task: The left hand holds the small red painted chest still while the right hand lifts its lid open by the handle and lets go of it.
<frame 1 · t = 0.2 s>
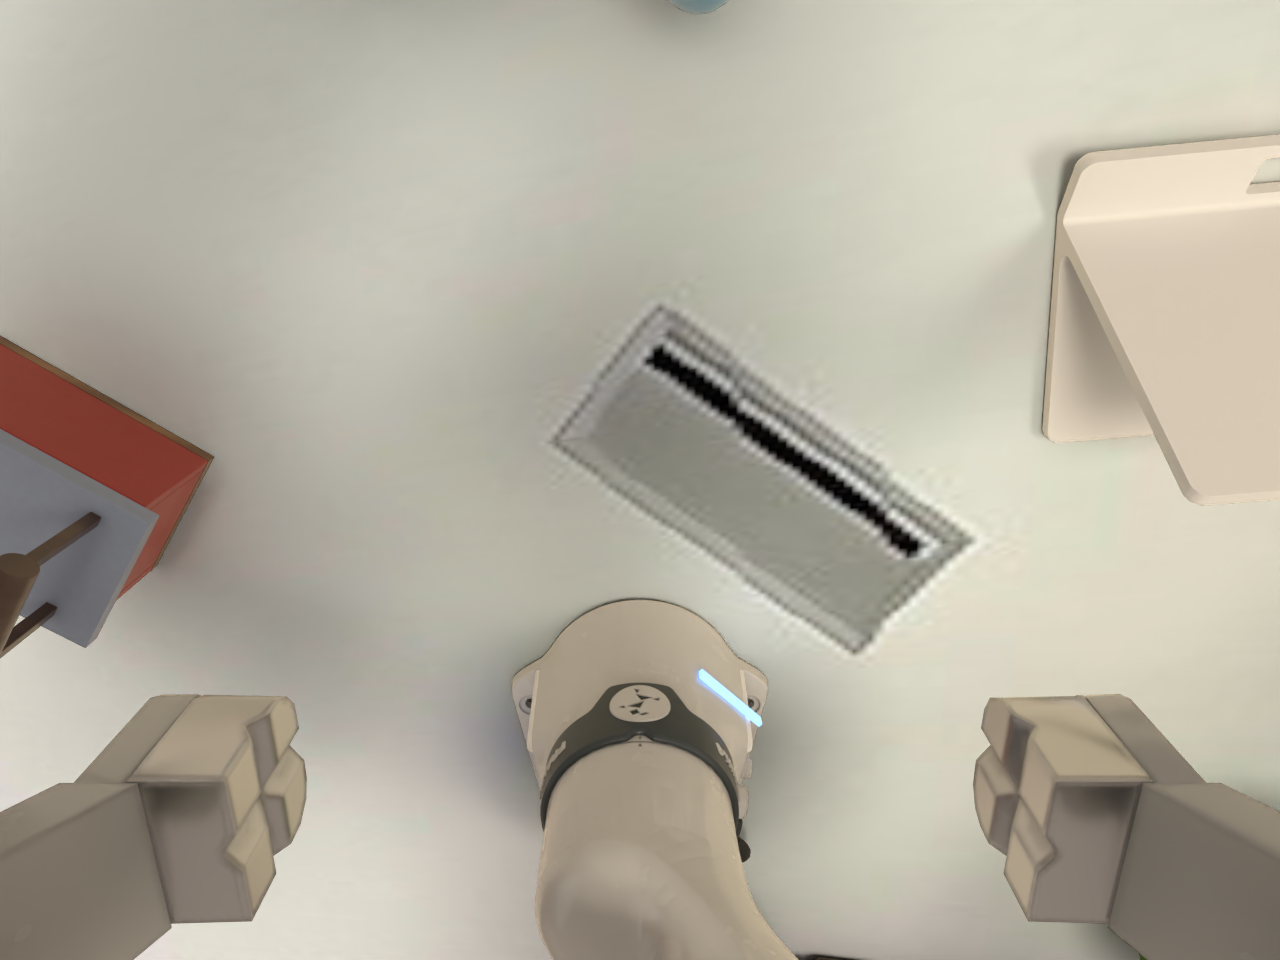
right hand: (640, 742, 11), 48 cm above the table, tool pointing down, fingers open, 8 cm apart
tablet stand: (1250, 286, 56), on the table
chest: (80, 455, 60), on the table
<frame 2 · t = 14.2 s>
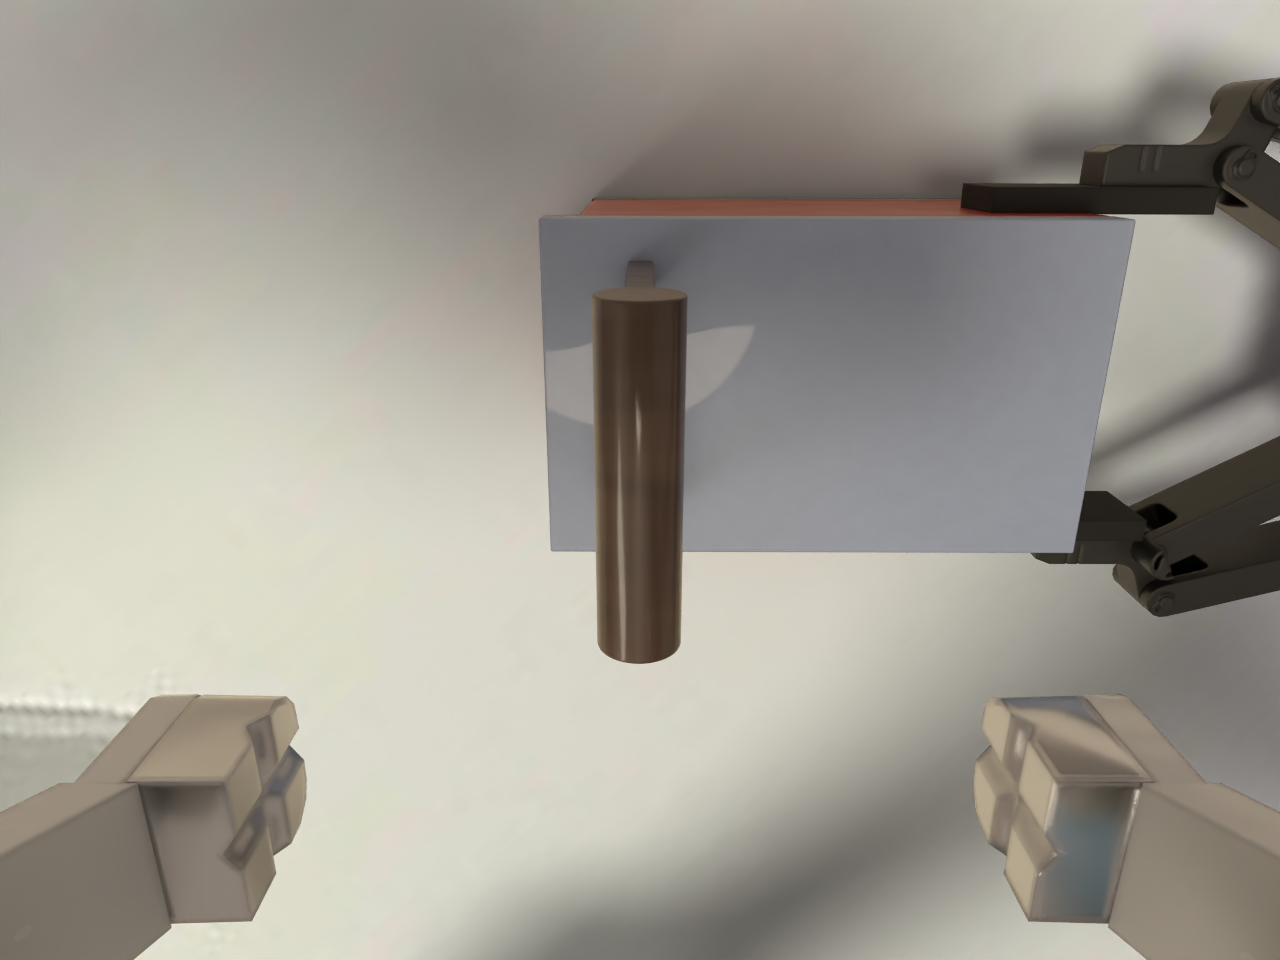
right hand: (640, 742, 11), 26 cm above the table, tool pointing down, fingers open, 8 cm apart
left hand: (955, 366, 29), fingers closed on chest, 10 cm apart
chest: (786, 329, 35), on the table, touching left hand
lid: (848, 431, 22), point 13 cm above the table, hinge at 0.0°
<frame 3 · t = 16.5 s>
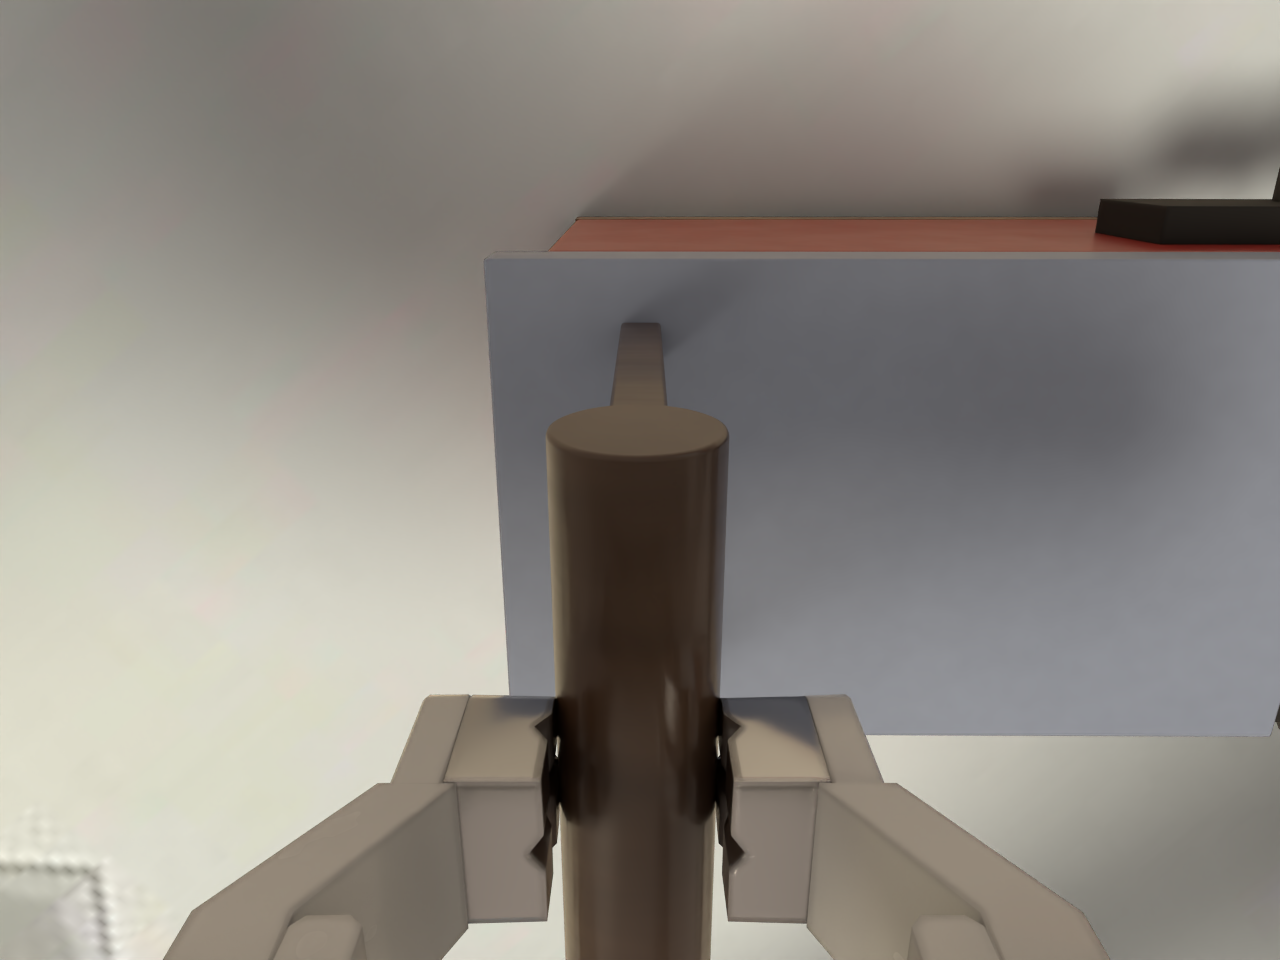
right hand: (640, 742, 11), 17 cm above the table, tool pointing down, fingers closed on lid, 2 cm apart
chest: (833, 388, 26), on the table, touching left hand
lid: (975, 604, 14), point 13 cm above the table, hinge at -0.2°, touching right hand
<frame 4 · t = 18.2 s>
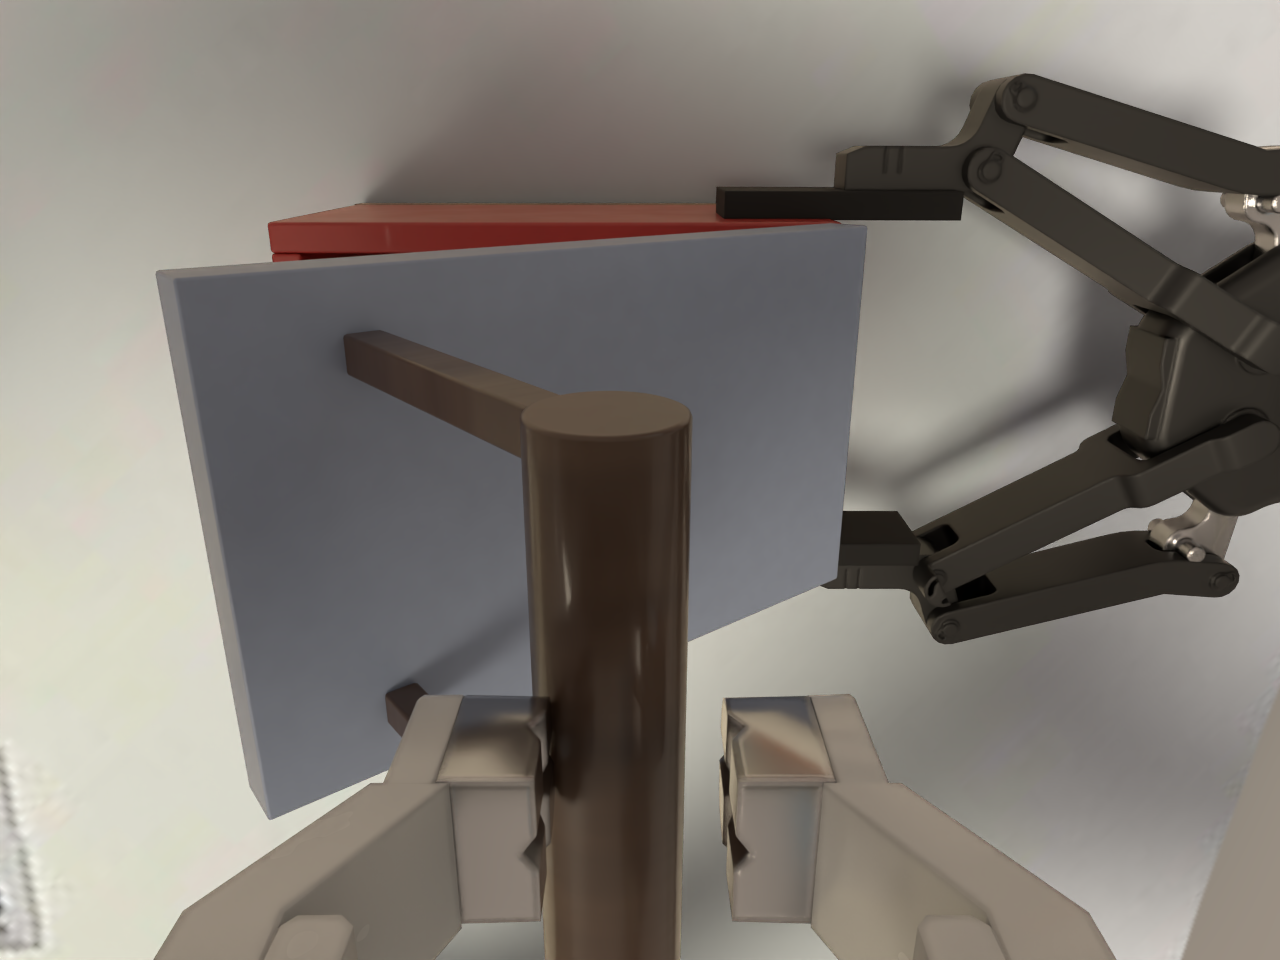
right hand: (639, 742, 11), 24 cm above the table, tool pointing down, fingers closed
left hand: (714, 381, 27), fingers closed on chest, 10 cm apart
chest: (577, 340, 33), on the table, touching left hand
lid: (719, 525, 17), point 18 cm above the table, hinge at 37.7°, touching right hand
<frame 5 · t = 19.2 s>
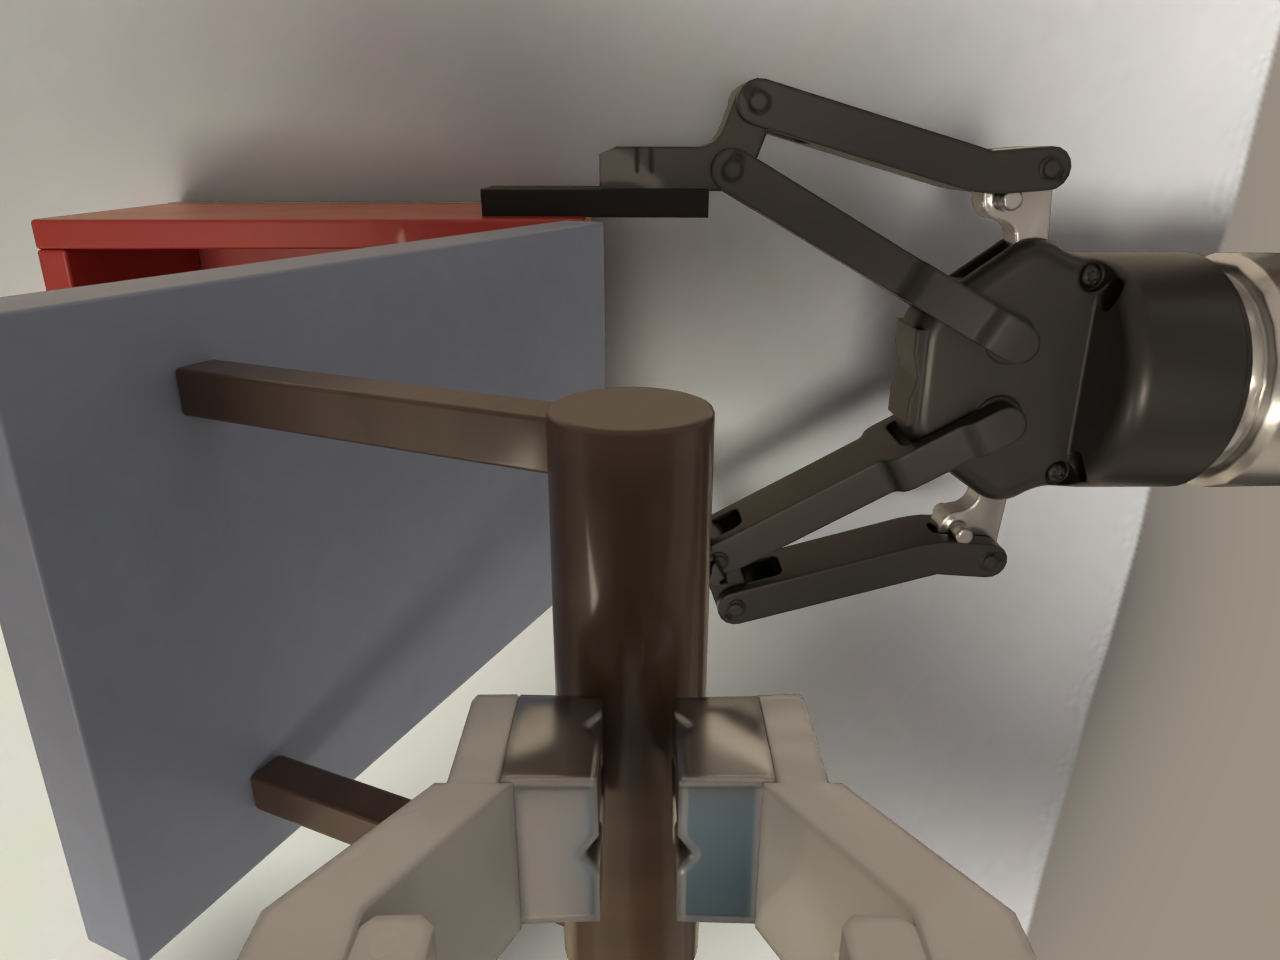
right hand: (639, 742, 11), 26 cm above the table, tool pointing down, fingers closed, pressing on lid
left hand: (497, 372, 29), fingers closed on chest, 10 cm apart
chest: (398, 335, 34), on the table, touching left hand
lid: (577, 517, 17), point 18 cm above the table, hinge at 64.0°, touching right hand
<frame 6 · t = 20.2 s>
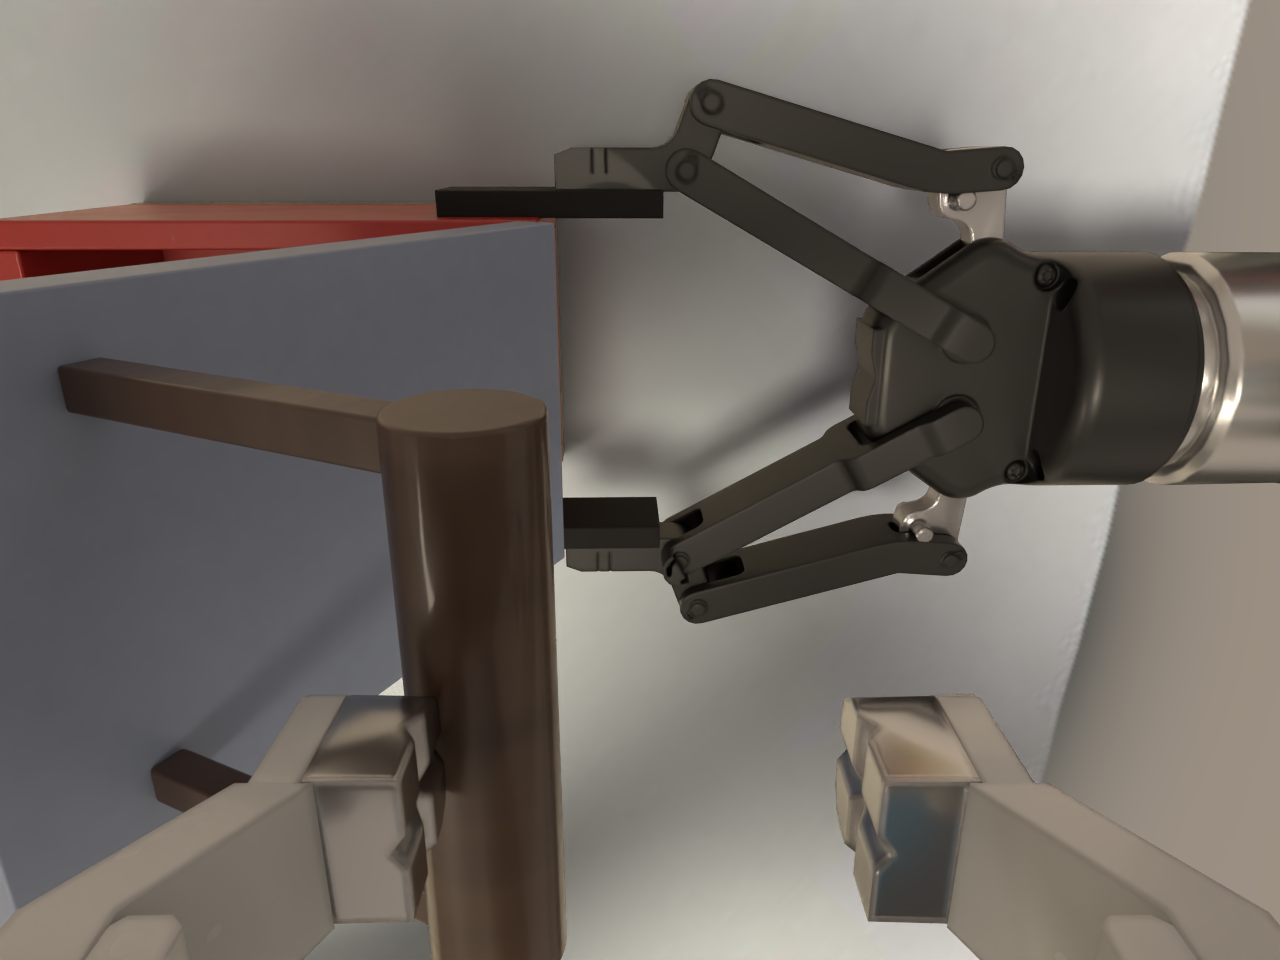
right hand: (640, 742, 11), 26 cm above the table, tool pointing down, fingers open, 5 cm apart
left hand: (456, 373, 29), fingers closed on chest, 10 cm apart
chest: (364, 335, 34), on the table, touching left hand
lid: (492, 517, 17), point 18 cm above the table, hinge at 61.7°, touching right hand
when the left hand's fingers open (6 cm above the table, at t = 23.8 s): chest stays where it is, on the table.
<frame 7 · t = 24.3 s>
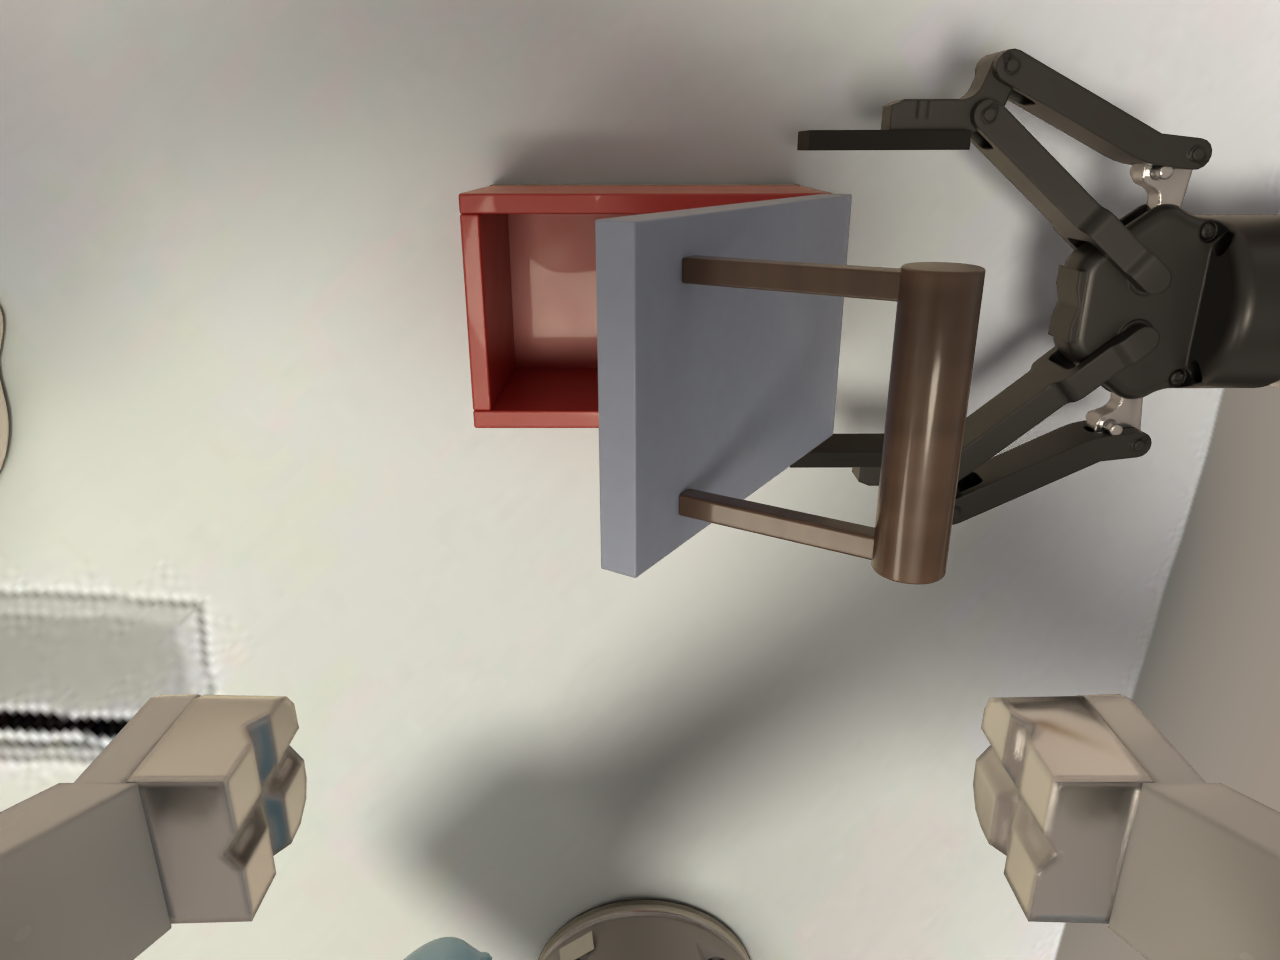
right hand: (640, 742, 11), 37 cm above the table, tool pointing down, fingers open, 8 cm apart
left hand: (792, 304, 39), fingers open, 13 cm apart
chest: (644, 285, 46), on the table
lid: (856, 368, 28), point 18 cm above the table, hinge at 58.3°
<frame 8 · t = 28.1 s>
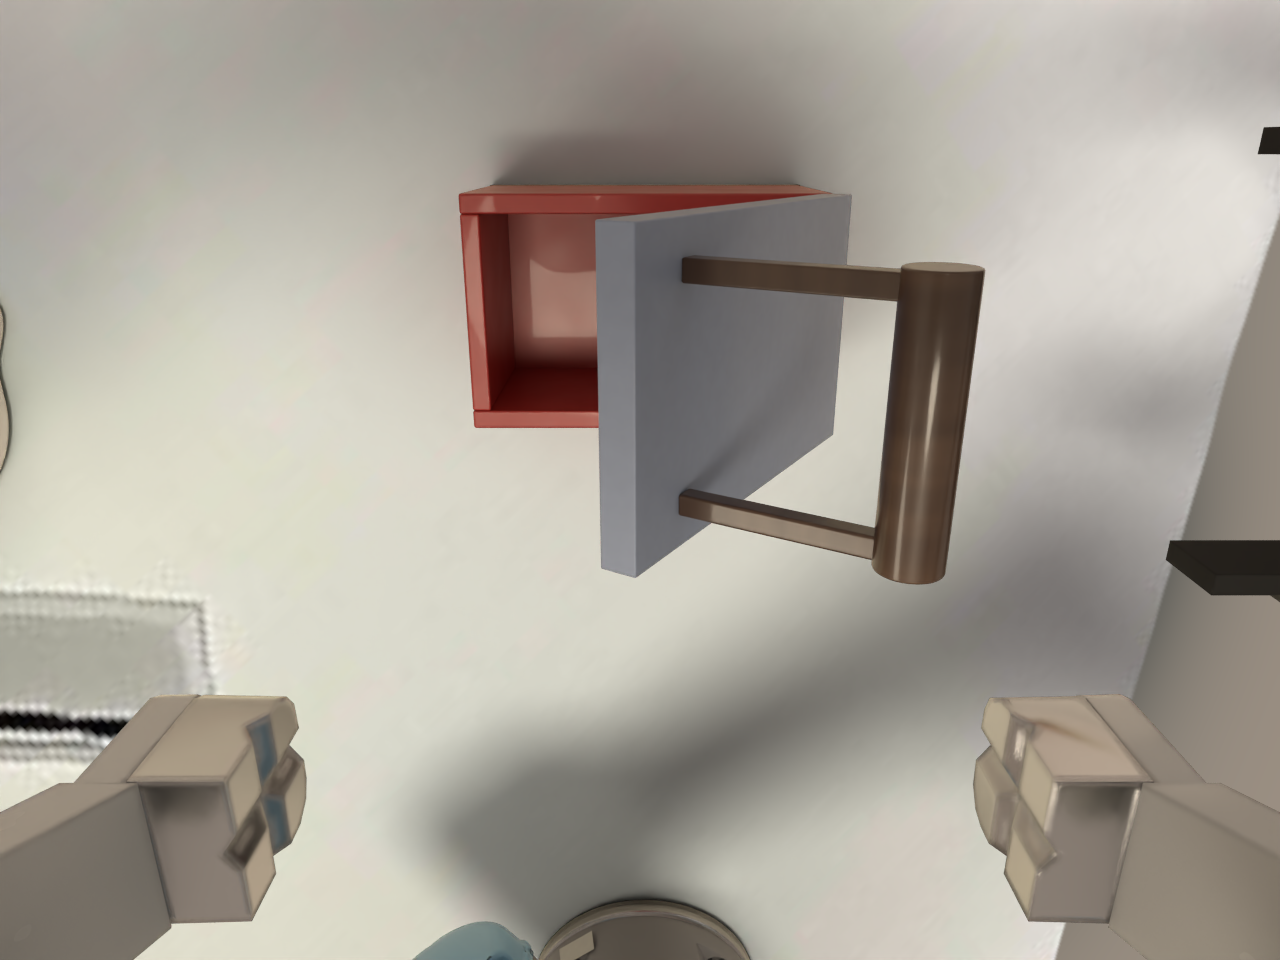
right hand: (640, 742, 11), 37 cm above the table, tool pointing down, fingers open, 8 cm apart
chest: (644, 285, 46), on the table
lid: (856, 368, 28), point 18 cm above the table, hinge at 58.3°
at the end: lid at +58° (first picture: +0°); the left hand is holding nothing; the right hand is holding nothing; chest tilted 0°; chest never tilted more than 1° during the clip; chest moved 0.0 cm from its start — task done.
